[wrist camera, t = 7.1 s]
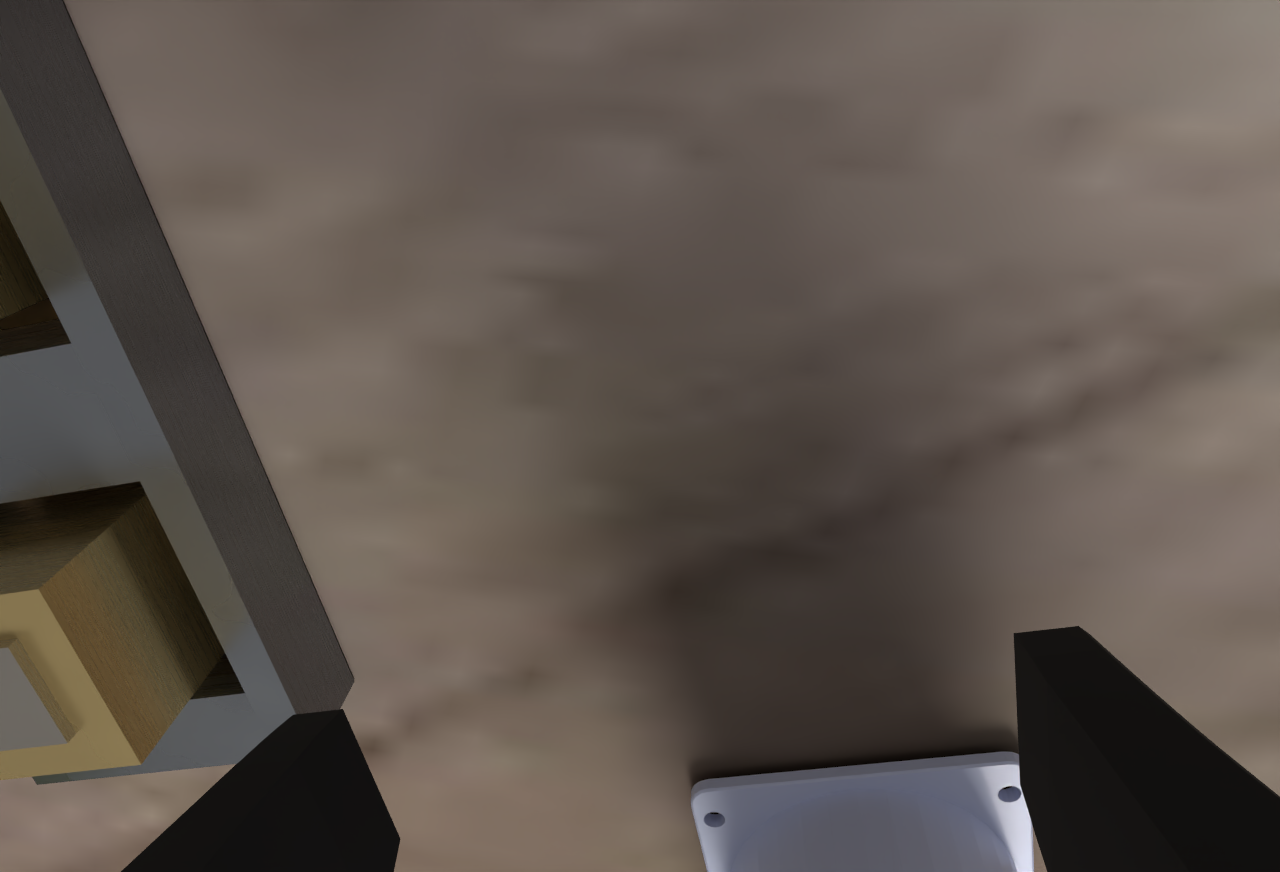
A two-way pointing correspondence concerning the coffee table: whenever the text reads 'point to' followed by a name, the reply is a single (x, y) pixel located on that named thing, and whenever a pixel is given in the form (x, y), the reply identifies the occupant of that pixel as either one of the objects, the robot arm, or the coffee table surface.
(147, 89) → the coffee table surface
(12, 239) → the gold square block
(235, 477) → the grey slotted tray
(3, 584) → the tan square frame
